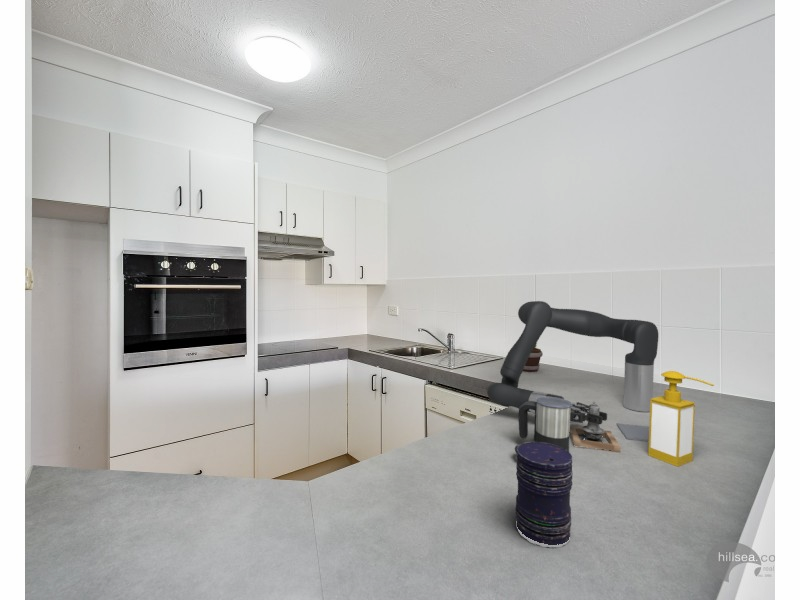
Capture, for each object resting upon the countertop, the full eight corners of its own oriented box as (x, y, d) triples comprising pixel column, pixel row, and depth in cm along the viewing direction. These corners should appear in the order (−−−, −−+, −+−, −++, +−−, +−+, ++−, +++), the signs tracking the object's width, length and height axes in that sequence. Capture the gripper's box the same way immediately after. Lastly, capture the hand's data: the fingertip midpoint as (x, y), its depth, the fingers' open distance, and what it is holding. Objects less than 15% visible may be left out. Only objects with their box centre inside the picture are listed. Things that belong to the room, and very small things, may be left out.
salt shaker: (607, 446, 108) (608, 405, 108) (585, 444, 110) (586, 403, 109) (600, 438, 114) (601, 399, 114) (579, 436, 115) (580, 397, 115)
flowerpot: (509, 367, 212) (509, 331, 211) (535, 366, 213) (535, 331, 213) (520, 373, 197) (520, 335, 196) (547, 372, 199) (548, 335, 198)
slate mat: (616, 424, 125) (616, 423, 125) (658, 429, 122) (658, 427, 121) (626, 439, 114) (626, 437, 114) (672, 444, 110) (673, 442, 110)
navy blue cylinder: (507, 515, 76) (508, 442, 75) (554, 513, 76) (556, 441, 76) (528, 550, 66) (530, 466, 65) (581, 547, 67) (584, 464, 66)
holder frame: (569, 431, 119) (569, 426, 119) (610, 436, 116) (610, 431, 116) (574, 446, 108) (574, 441, 108) (620, 452, 105) (620, 446, 104)
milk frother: (569, 450, 106) (570, 398, 105) (574, 477, 91) (576, 416, 90) (516, 442, 111) (517, 392, 110) (513, 467, 96) (514, 409, 95)
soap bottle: (702, 476, 92) (706, 380, 91) (648, 455, 103) (651, 369, 102) (717, 469, 95) (721, 377, 94) (663, 450, 106) (666, 367, 105)
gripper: (536, 398, 117) (596, 411, 104) (555, 389, 126) (612, 400, 114) (536, 422, 117) (595, 438, 105) (555, 411, 127) (611, 425, 115)
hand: (604, 418), depth 110 cm, fingers closed on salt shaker, 3 cm apart
